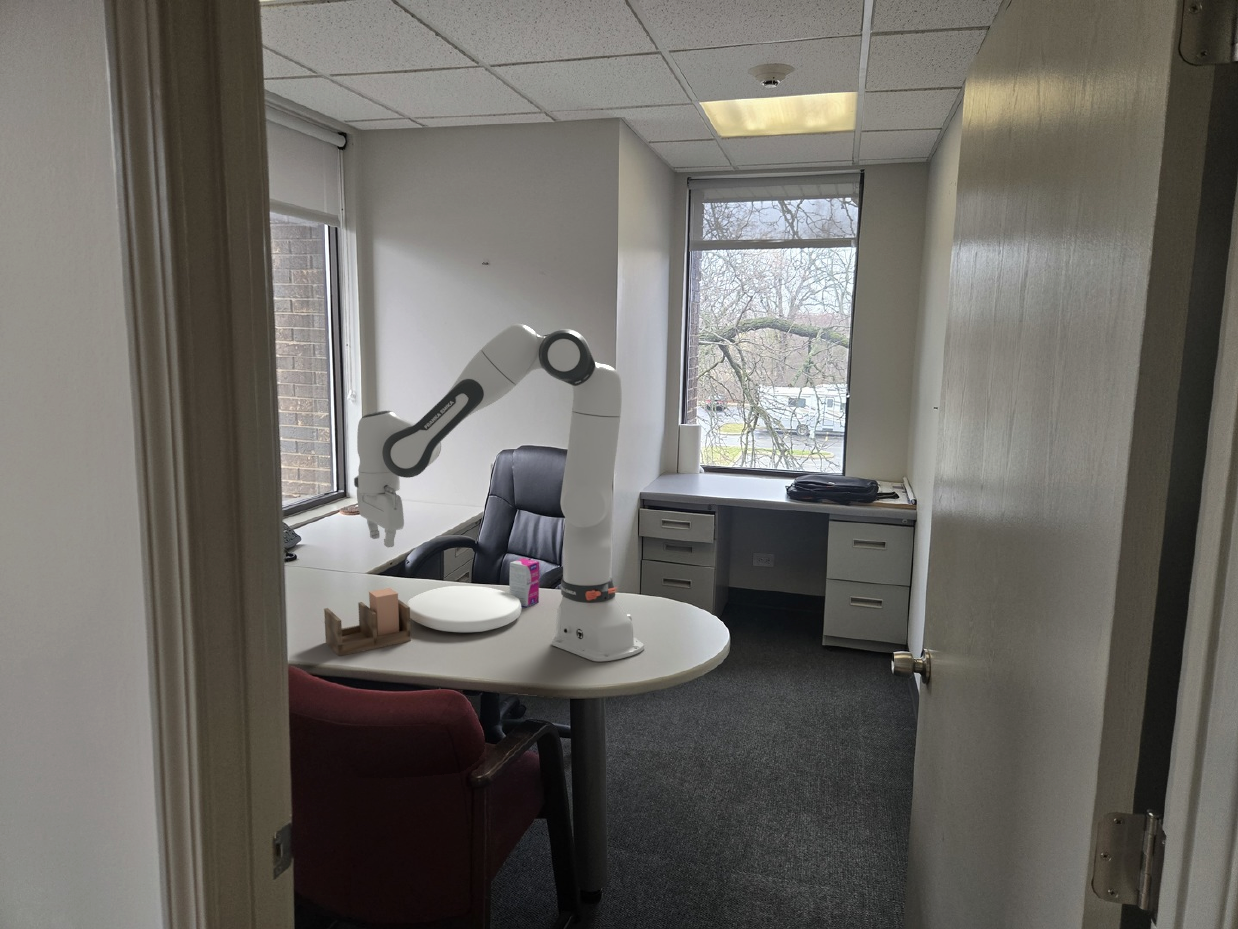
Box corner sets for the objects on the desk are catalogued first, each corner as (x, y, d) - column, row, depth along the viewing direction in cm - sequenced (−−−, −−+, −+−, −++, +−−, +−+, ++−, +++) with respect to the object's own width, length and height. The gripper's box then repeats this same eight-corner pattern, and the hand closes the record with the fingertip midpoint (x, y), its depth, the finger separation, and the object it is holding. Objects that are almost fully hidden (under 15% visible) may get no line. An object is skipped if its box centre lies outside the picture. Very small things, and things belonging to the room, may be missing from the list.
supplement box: (526, 608, 212) (526, 565, 210) (508, 604, 215) (508, 562, 213) (539, 602, 217) (539, 560, 215) (522, 598, 220) (522, 557, 218)
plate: (538, 591, 212) (492, 625, 187) (536, 614, 213) (490, 652, 188) (442, 570, 219) (386, 600, 194) (440, 593, 221) (384, 626, 195)
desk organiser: (410, 640, 189) (409, 607, 187) (339, 656, 179) (337, 621, 178) (395, 628, 197) (394, 596, 195) (325, 642, 187) (324, 608, 186)
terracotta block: (399, 635, 189) (397, 593, 188) (378, 639, 187) (376, 597, 185) (391, 628, 193) (390, 588, 192) (370, 633, 191) (369, 591, 189)
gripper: (410, 488, 178) (412, 549, 180) (377, 475, 195) (380, 532, 197) (381, 491, 174) (384, 554, 177) (351, 478, 191) (354, 535, 193)
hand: (381, 542), depth 187 cm, fingers open, 8 cm apart
